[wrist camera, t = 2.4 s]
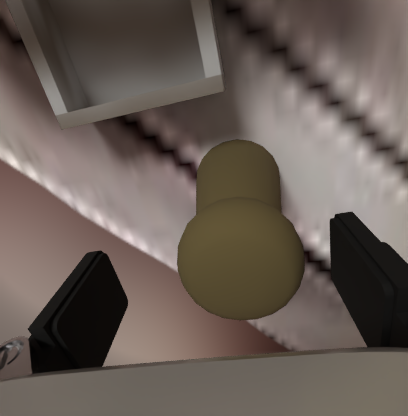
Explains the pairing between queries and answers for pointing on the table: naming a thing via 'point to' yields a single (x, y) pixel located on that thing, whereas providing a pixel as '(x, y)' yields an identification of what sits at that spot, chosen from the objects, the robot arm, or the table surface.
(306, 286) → the table surface
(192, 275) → the olive rounded piece
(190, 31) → the wall board holder
